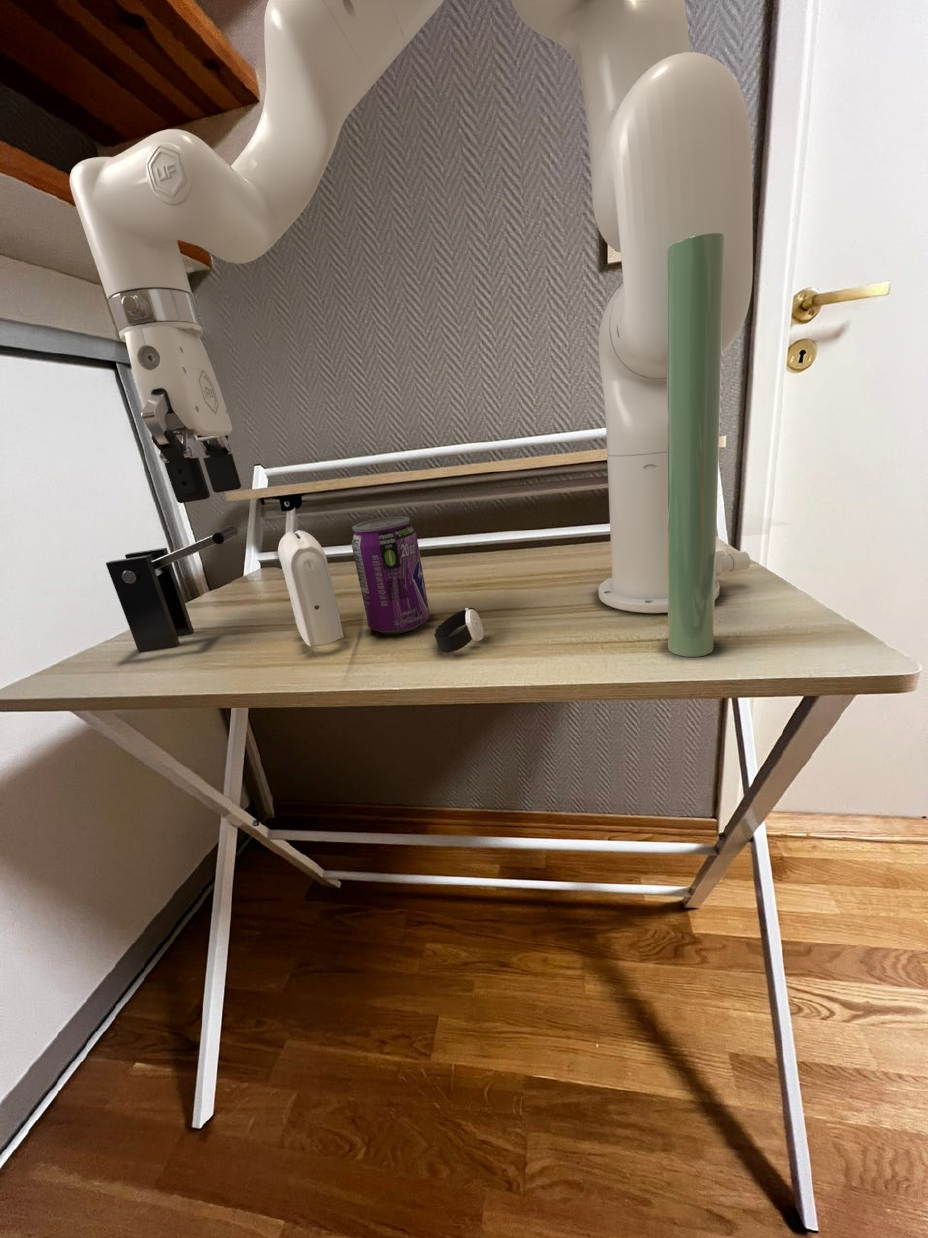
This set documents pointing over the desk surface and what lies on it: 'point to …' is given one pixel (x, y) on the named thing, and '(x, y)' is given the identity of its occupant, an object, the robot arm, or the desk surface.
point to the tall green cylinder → (693, 437)
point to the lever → (194, 548)
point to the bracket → (150, 600)
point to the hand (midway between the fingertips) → (212, 495)
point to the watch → (462, 637)
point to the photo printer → (310, 588)
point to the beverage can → (390, 574)
